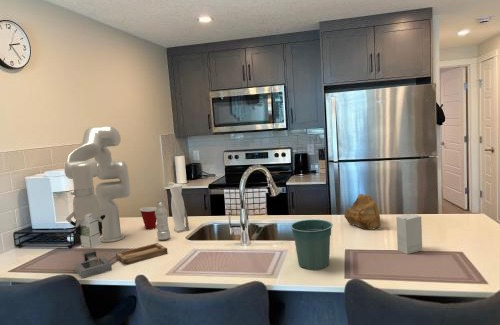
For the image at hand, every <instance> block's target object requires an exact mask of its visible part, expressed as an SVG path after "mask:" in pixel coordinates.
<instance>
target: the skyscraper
mask: <svg viewBox="0 0 500 325" xmlns="http://www.w3.org/2000/svg"><path fill="white" fill-rule="evenodd" d="M170 184H173V185H170ZM168 187H169V190H170V194H171V199H170V200H171V201H170V203H171V204H170V205H171V208H170V209H171V215H172V220H173V223H174V228H173V230H174V232H176V233H183V232H188V231H190V226H189V220H188V219H189V218H188V212H187V208H185V202H184V198H183V195H182V191H183V184H182V183H175V182H168Z"/></svg>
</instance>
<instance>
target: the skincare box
mask: <svg viewBox="0 0 500 325" xmlns="http://www.w3.org/2000/svg"><path fill="white" fill-rule="evenodd" d="M422 226H423V225H422V216H420V215H418V214H413V213H409V214H408V213H407V214H404V215H400V216H399V215H398V216H396V240H397V243H396V244H397V245H396V246H397V250H398V251H399V252H402V253H404V254H406V255H411V254H413V253H417V252H421V251H423V234H422V233H423V229H422Z"/></svg>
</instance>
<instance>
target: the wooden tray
mask: <svg viewBox="0 0 500 325" xmlns="http://www.w3.org/2000/svg"><path fill="white" fill-rule="evenodd" d="M168 252H169V251H168V248H167V247H165V246H163V245H162V244H160V243H158V242H157V243H156V242H155V243H152V244H147V245H144V246H140V247H135V248H132V249H127V250H123V251H120V252H116V253H115V256H116V260H118V261H119V262H120V263H122V265H124V266H127V265H131V264H135V263H138V262H142V261H146V260H149V259H153V258H157V257H160V256H163V255H164V256H165V255H168Z"/></svg>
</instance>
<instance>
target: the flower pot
mask: <svg viewBox="0 0 500 325" xmlns="http://www.w3.org/2000/svg"><path fill="white" fill-rule="evenodd" d="M333 225H334V224H333V223H332V222H331V221H328V220H325V219H314V218H313V219H312V218H311V219H301V220H298V221H295V222H293V223H291V224H290V229H291V230H292V231H291V232H292V236H293V239H294V244H295V250H296V256H297V263H298V266H299V267H300V268H302V269H304V268H305V269H307V270H313V271H314V270H322V269H325V268H326V267H328V266H329V265H330V253H331V252H330V248H331V236H332V228H333Z"/></svg>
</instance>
